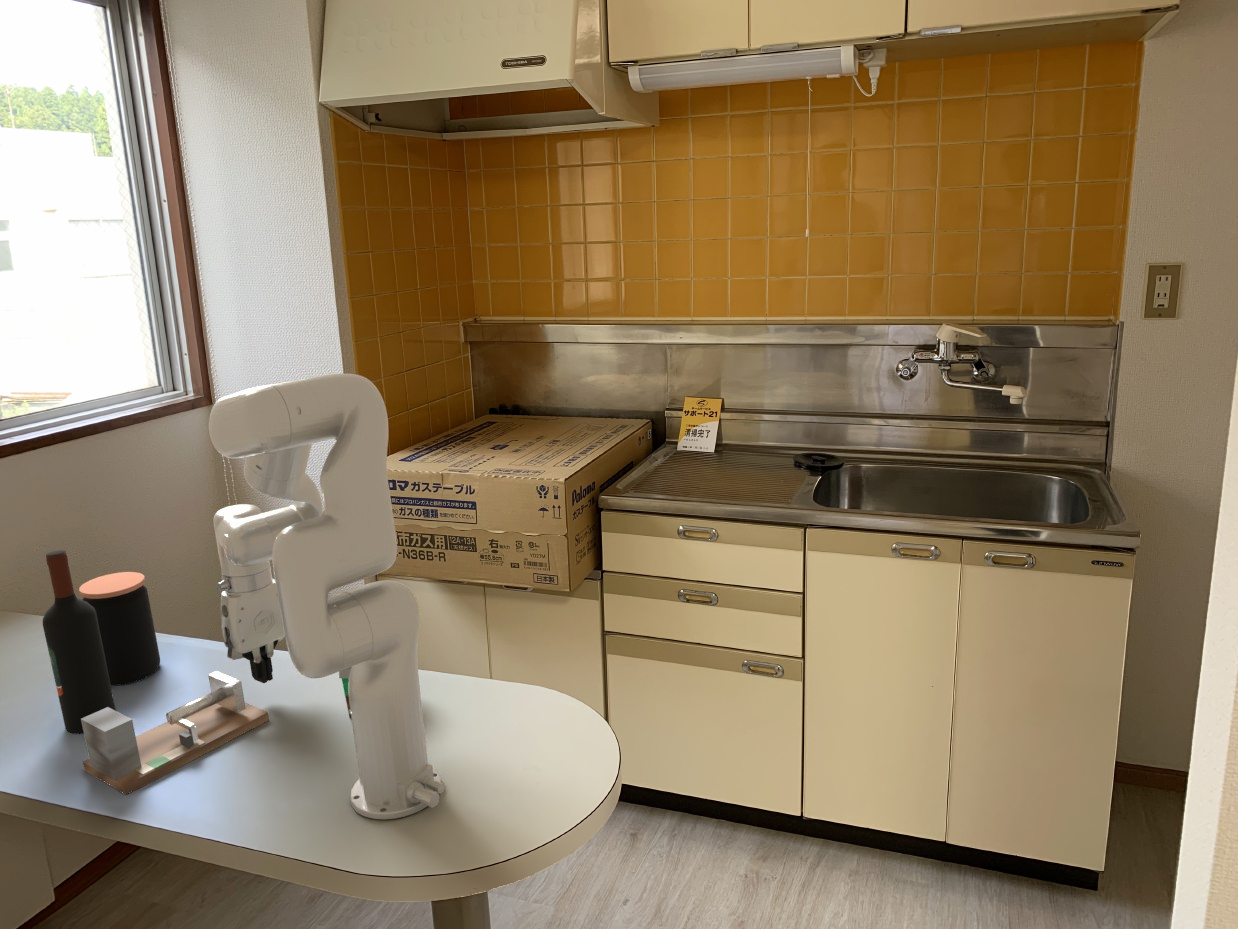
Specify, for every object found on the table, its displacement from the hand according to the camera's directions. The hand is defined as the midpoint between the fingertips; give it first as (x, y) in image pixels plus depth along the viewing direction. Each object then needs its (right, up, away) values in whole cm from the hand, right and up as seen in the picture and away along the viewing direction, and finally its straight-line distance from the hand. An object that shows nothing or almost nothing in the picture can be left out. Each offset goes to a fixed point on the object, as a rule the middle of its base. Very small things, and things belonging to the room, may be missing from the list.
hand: (263, 679), depth 160 cm
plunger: (-6, -5, -9) cm, 12 cm away
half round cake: (+20, -4, -2) cm, 21 cm away
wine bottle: (-28, -7, -3) cm, 28 cm away
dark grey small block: (-6, -7, -15) cm, 18 cm away
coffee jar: (-30, -2, +14) cm, 33 cm away
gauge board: (-9, -8, -11) cm, 16 cm away
